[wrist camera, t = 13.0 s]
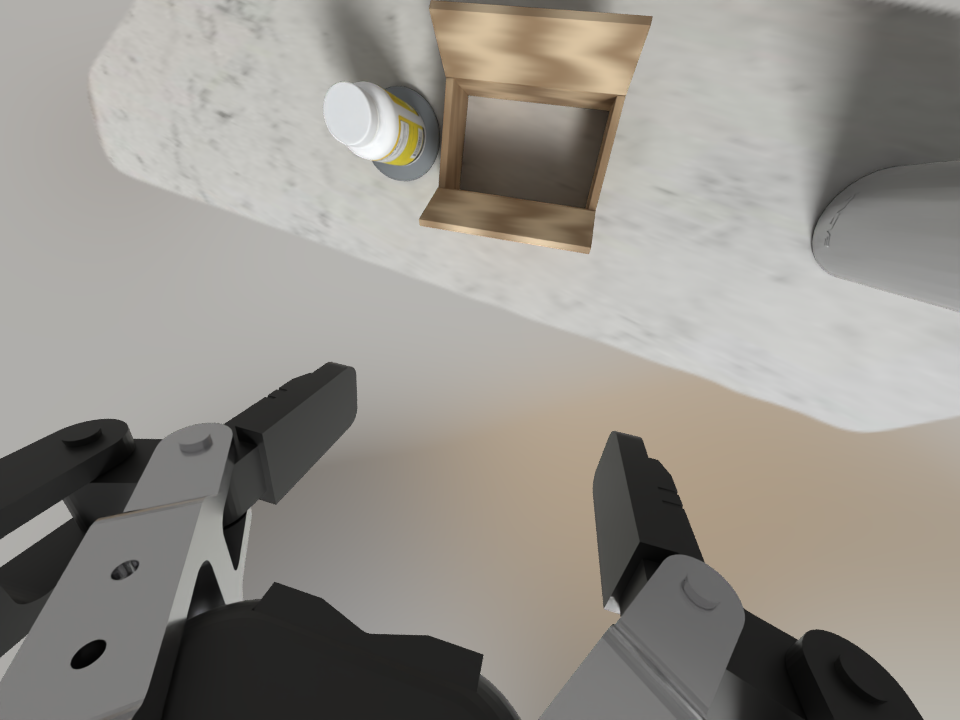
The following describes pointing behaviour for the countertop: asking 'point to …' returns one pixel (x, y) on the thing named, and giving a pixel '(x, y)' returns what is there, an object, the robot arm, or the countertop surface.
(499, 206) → the carton
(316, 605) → the robot arm
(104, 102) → the countertop surface
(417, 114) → the supplement bottle
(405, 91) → the coaster
